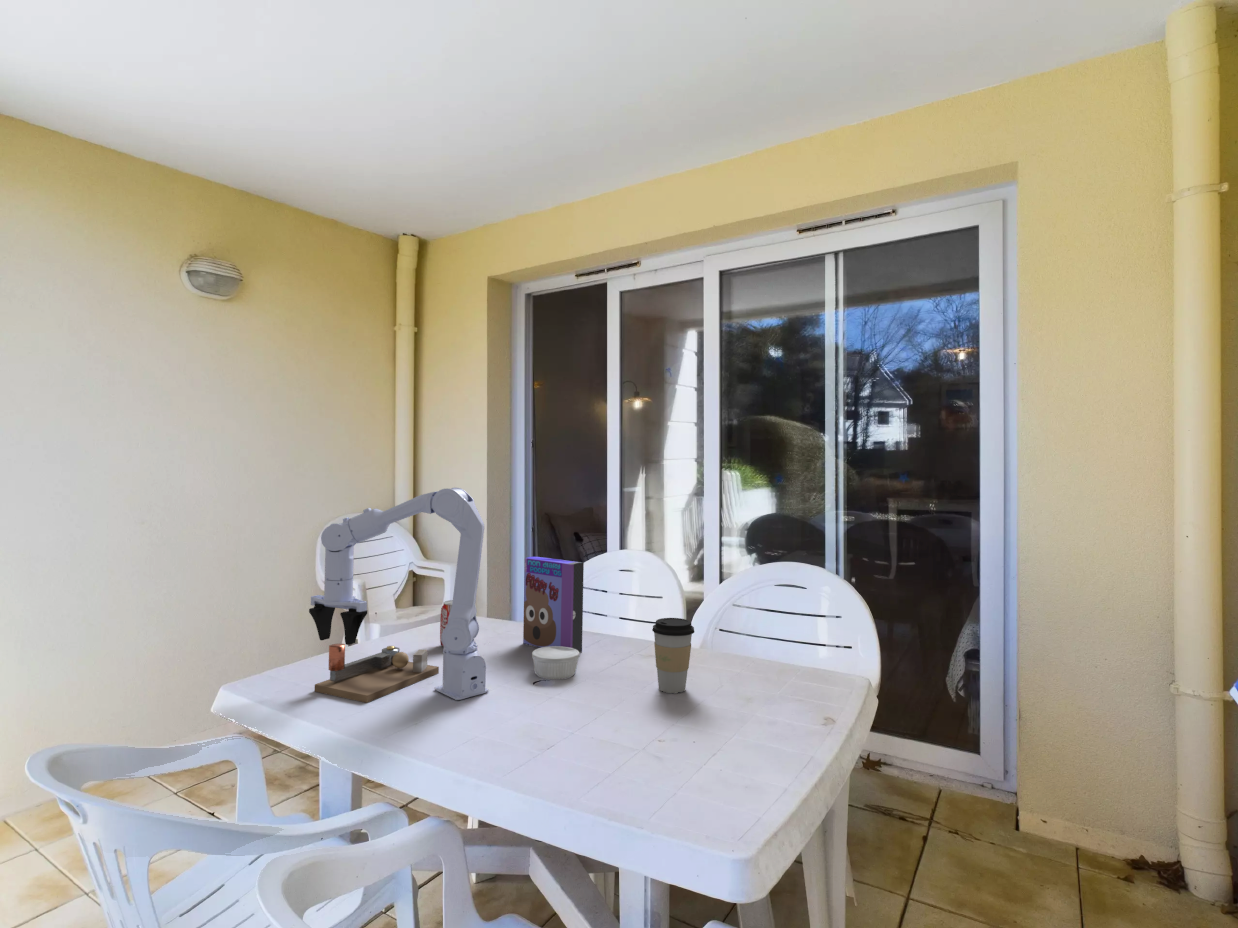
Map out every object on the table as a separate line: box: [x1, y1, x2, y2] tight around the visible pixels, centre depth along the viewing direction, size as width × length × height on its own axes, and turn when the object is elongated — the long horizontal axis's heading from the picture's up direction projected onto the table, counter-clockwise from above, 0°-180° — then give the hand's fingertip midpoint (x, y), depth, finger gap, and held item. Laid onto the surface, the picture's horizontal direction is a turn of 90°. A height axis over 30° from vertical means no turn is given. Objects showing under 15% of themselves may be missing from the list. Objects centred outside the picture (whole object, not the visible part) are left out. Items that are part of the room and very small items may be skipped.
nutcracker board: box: [314, 649, 440, 704], centre depth 145 cm, size 22×15×6 cm
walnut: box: [392, 651, 410, 668], centre depth 150 cm, size 4×4×4 cm
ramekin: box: [531, 646, 580, 681], centre depth 153 cm, size 11×11×5 cm
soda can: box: [439, 599, 453, 648], centre depth 175 cm, size 7×7×12 cm
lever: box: [328, 643, 401, 682], centre depth 147 cm, size 20×4×8 cm, turn 156°
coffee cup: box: [651, 617, 695, 694], centre depth 144 cm, size 9×9×15 cm
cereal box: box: [522, 556, 585, 654], centre depth 176 cm, size 17×5×24 cm, turn 53°
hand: (337, 641), depth 139 cm, fingers open, 7 cm apart
